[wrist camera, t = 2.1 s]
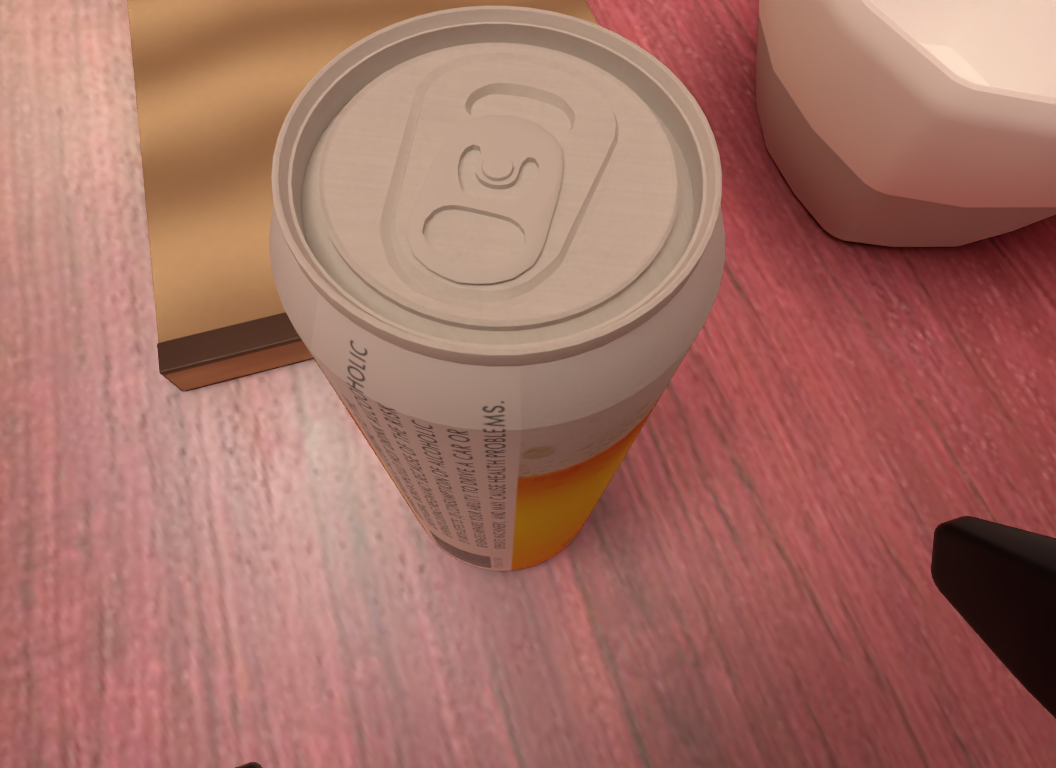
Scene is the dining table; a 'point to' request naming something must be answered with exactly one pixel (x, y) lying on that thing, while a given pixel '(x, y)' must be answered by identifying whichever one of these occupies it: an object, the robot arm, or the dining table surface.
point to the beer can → (497, 260)
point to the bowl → (912, 115)
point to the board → (234, 160)
